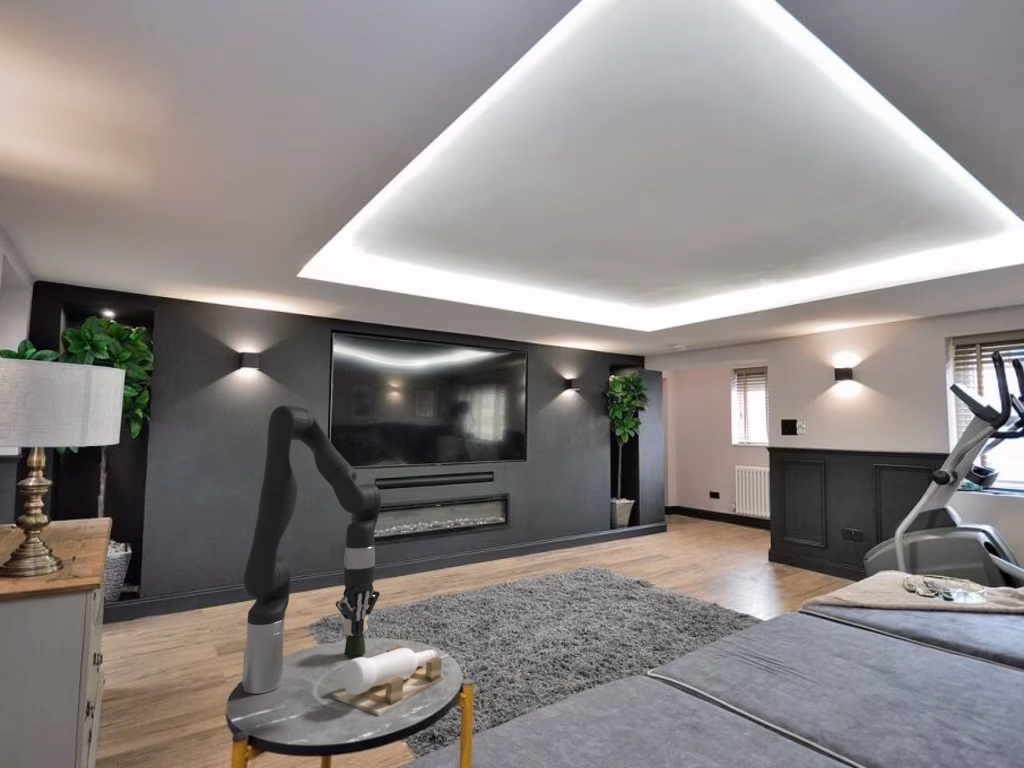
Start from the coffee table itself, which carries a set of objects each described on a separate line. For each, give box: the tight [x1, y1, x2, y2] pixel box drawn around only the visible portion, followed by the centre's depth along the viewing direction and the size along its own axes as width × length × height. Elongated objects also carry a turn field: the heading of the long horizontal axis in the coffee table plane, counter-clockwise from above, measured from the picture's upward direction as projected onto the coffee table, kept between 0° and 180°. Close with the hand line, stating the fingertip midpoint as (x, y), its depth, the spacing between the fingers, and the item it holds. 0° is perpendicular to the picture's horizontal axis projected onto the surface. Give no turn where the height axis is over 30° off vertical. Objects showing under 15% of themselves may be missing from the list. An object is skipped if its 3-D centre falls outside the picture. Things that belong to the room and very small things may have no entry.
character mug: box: [343, 615, 369, 657], centre depth 165 cm, size 11×7×13 cm, turn 39°
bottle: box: [341, 647, 438, 694], centre depth 144 cm, size 8×8×30 cm
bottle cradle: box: [331, 645, 444, 717], centre depth 143 cm, size 17×24×6 cm
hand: (357, 634), depth 134 cm, fingers closed
